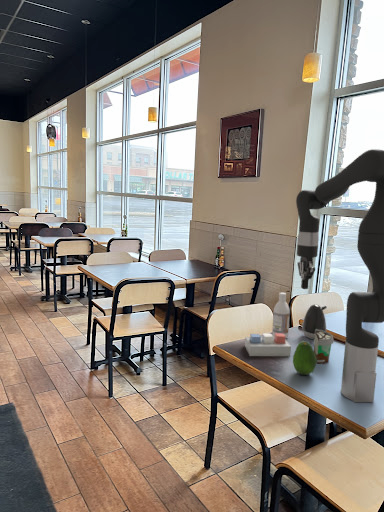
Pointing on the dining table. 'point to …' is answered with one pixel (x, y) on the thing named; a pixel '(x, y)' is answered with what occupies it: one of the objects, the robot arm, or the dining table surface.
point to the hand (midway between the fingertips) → (304, 288)
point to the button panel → (267, 348)
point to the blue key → (255, 338)
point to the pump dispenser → (314, 321)
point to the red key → (279, 338)
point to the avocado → (304, 358)
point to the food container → (322, 346)
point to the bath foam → (281, 316)
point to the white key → (267, 338)
